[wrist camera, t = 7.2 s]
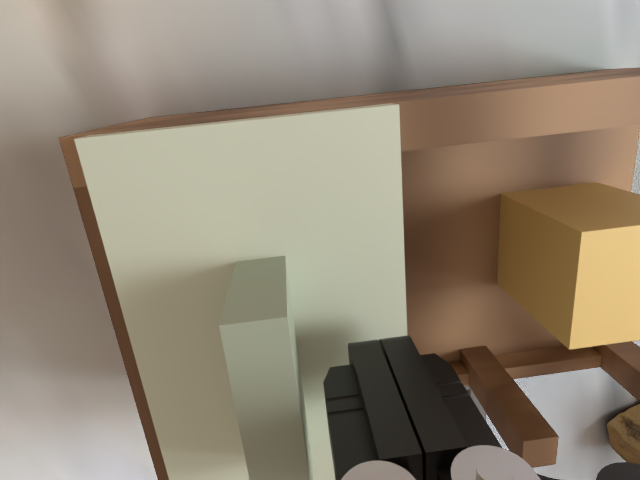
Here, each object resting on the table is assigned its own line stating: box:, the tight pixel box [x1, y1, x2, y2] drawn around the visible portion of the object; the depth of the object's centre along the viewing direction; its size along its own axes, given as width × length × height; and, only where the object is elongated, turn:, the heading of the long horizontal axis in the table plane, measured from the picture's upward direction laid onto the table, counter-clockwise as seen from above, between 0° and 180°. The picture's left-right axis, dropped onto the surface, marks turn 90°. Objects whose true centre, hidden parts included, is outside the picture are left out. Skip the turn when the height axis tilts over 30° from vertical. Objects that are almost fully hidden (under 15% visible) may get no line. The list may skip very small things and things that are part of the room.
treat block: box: [497, 182, 640, 350], centre depth 16 cm, size 4×4×5 cm
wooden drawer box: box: [59, 68, 640, 480], centre depth 16 cm, size 19×12×8 cm, turn 96°
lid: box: [74, 103, 407, 480], centre depth 10 cm, size 7×12×4 cm, turn 6°
